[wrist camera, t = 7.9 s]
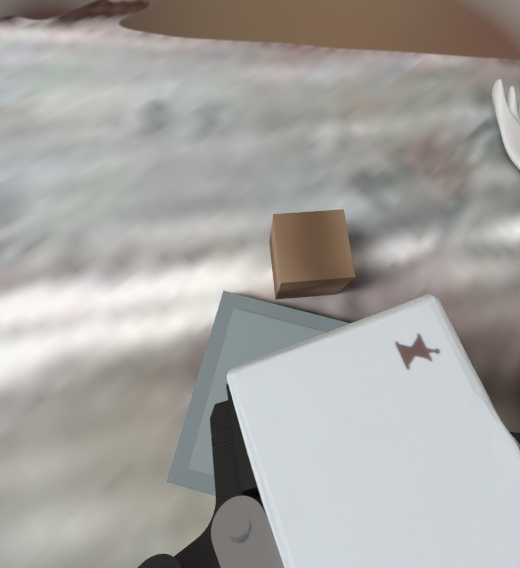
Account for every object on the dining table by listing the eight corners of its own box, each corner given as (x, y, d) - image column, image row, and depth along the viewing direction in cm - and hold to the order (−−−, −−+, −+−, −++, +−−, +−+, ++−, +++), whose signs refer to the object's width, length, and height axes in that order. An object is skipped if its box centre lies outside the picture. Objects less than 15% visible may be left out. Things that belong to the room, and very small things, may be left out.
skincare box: (247, 367, 17) (216, 360, 5) (322, 341, 17) (443, 281, 6) (287, 489, 15) (362, 852, 4) (367, 458, 16) (662, 702, 4)
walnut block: (275, 299, 23) (281, 282, 19) (269, 242, 24) (273, 214, 20) (336, 294, 23) (355, 276, 19) (327, 238, 24) (343, 209, 20)
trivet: (171, 475, 20) (166, 482, 19) (225, 294, 23) (223, 290, 22) (359, 528, 19) (367, 539, 18) (387, 336, 22) (395, 334, 21)
